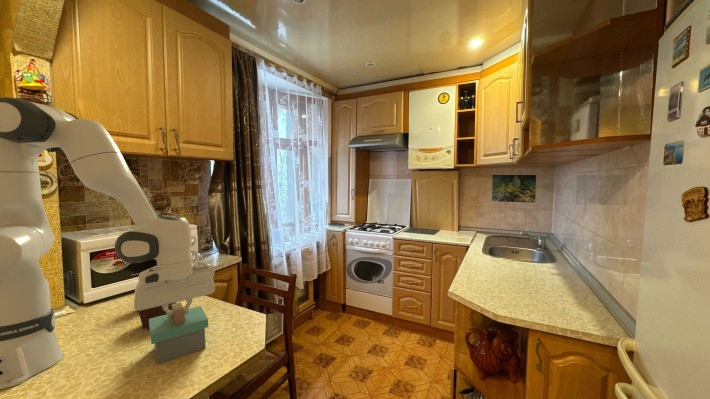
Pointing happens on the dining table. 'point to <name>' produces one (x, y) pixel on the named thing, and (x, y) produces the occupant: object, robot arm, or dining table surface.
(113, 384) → the dining table surface
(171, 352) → the storage box
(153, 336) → the lid
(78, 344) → the dining table surface
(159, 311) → the muffin
